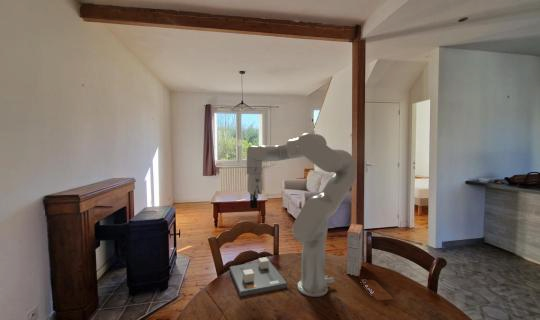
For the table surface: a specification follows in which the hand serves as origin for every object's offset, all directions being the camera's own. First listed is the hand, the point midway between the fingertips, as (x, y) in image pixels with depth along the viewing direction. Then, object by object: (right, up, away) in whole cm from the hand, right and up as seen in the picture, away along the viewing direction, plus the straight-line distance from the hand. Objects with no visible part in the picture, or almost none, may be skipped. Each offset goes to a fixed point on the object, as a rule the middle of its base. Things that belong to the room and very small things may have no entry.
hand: (253, 207), depth 122 cm
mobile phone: (+53, -31, -19) cm, 64 cm away
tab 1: (-1, -27, -17) cm, 32 cm away
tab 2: (+5, -27, -5) cm, 28 cm away
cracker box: (+50, -30, -2) cm, 58 cm away
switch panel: (+2, -30, -12) cm, 32 cm away
